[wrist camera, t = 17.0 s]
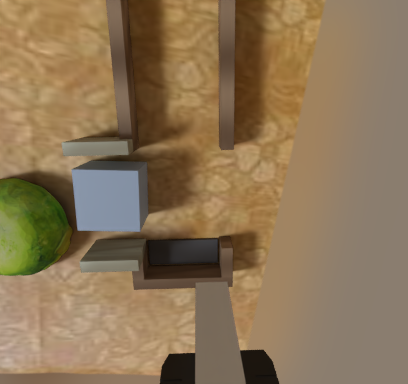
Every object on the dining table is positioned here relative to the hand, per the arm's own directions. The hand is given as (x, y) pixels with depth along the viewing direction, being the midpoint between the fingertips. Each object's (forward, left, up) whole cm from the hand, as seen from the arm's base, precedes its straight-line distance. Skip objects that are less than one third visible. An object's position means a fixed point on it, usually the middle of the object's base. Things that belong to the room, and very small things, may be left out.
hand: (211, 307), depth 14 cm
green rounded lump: (+3, -21, -20) cm, 28 cm away
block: (-1, -9, -19) cm, 21 cm away
